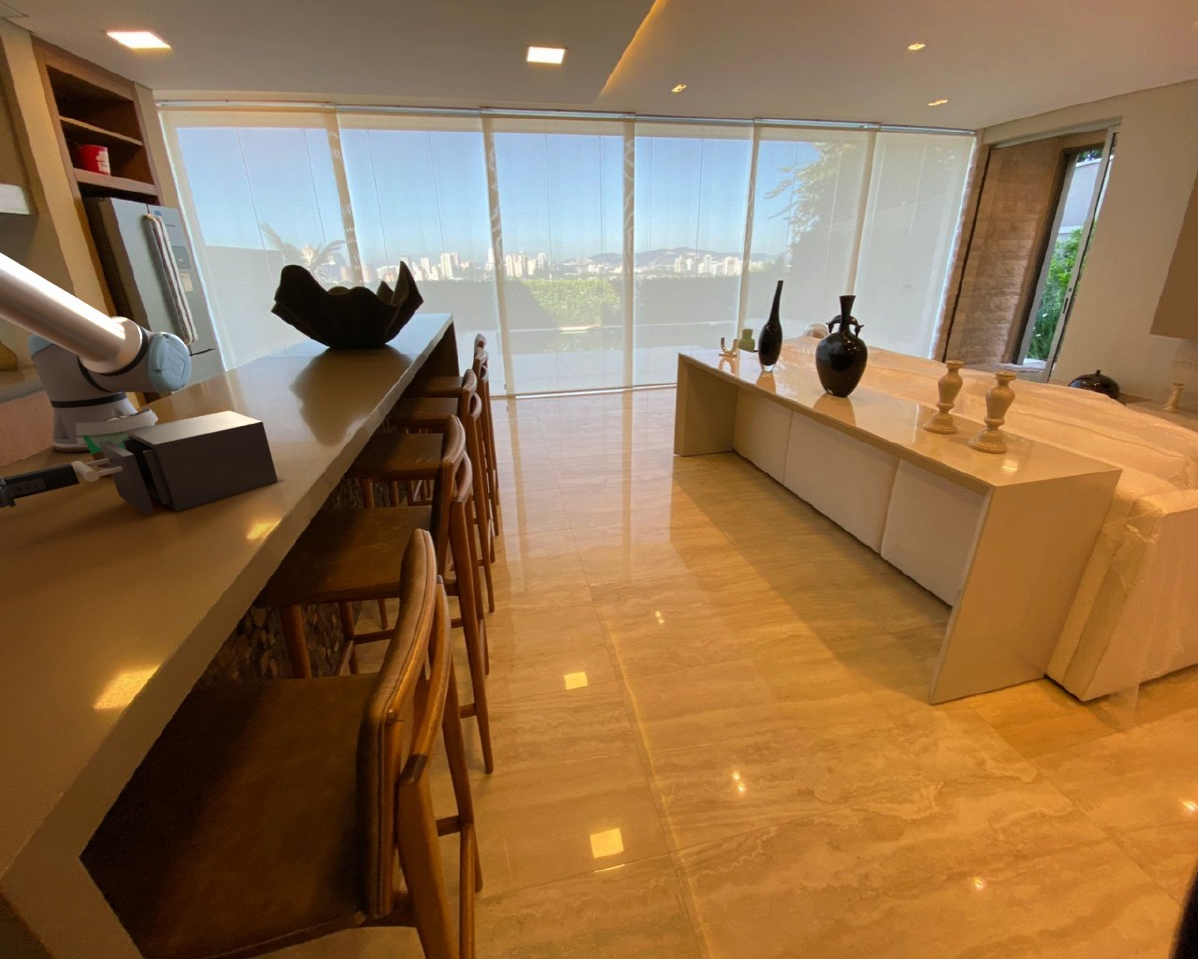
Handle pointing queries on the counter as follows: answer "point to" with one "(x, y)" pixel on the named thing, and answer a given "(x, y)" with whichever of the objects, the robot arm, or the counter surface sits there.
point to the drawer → (130, 473)
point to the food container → (113, 431)
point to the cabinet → (209, 456)
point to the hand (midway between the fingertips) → (74, 473)
